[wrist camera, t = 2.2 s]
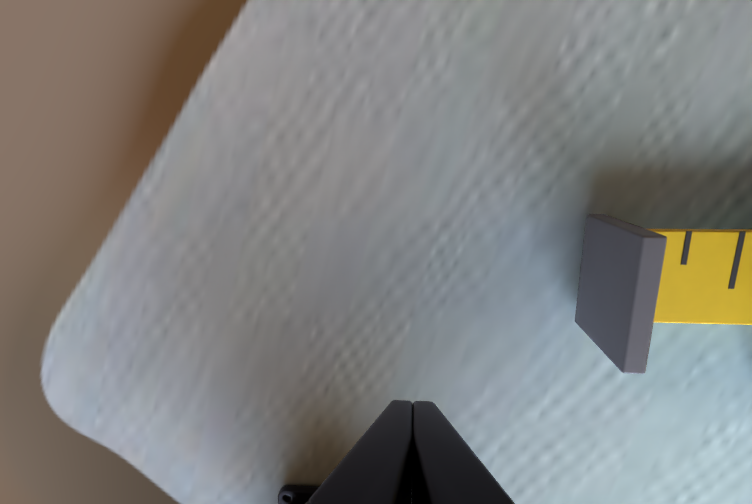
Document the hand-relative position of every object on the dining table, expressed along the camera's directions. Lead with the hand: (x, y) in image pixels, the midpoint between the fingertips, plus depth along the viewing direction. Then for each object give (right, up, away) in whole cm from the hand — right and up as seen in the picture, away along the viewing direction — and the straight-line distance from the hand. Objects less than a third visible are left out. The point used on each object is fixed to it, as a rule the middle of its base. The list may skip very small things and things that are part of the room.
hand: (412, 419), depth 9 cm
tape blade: (+13, +3, +10) cm, 16 cm away
